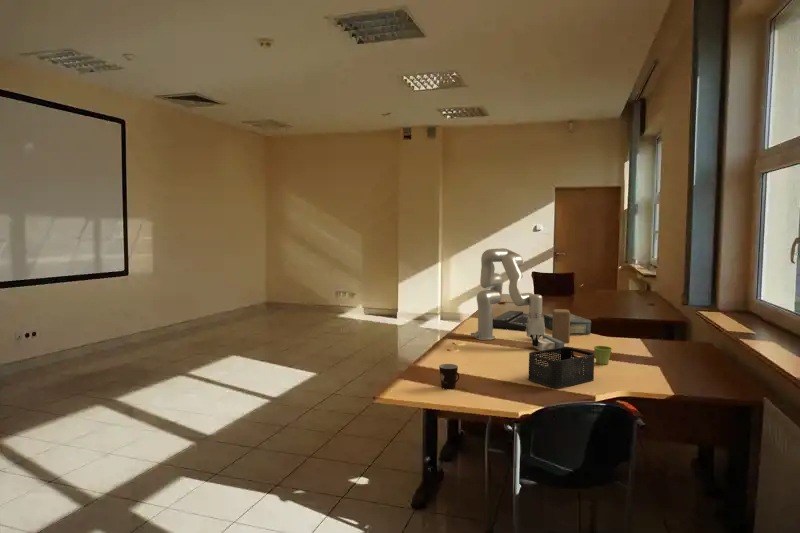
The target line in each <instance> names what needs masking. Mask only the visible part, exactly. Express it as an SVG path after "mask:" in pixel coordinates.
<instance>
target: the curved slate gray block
mask: <svg viewBox="0 0 800 533" xmlns="http://www.w3.org/2000/svg"><path fill="white" fill-rule="evenodd" d="M541 339H548V340H550V341H552V342H554V343H555V348H559V347H565V343H564V342H562V341H560V340H557V339H555V338H553V337H552V335H551V336H550V335H548V334H544V336H541ZM556 352H557V351H556Z"/></svg>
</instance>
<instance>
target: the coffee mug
mask: <svg viewBox="0 0 800 533" xmlns="http://www.w3.org/2000/svg"><path fill="white" fill-rule="evenodd" d="M438 367H439V376H440V377H439V378H440V386H441V389H443V388H444V390H447V389H451V390H454V388H456V385H457V382H458V381H459V380H460V375H459V374H460V373H458V368H459V366H458V365H457V364H453V363H442V364H439V366H438Z"/></svg>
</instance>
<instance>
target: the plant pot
mask: <svg viewBox="0 0 800 533" xmlns="http://www.w3.org/2000/svg"><path fill="white" fill-rule="evenodd" d="M593 349H594V356H595V362H596V364H598V365H602V366H604V365H608V364H609V362H610V356H611V352H612V350H613V347H612V346H611V347H610V346H606V345H595V346H593Z"/></svg>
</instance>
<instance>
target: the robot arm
mask: <svg viewBox="0 0 800 533" xmlns="http://www.w3.org/2000/svg"><path fill="white" fill-rule="evenodd" d="M480 259H481V260H480V261H481V267H480V268H481V269H480V278H479V279H480V282H479V285H480V287H481V288H483V289H484V290H481V291H479V292H478V293H477V294H476V303H477V330H476V331H475V332H470V336H471V337H475V339H476V340H479V341H480V340H481V341H493V340H495V339H496V336H494V335H493V329H494V328H493V318H494V315H493V314H494V310H493V308H492V306H491V305H495V304H496V305H497V304H499V303H500V302H501V300H502V297H503V285H504V284H503V283H504V281H503V277H502V276H501V274H500V273H497V272H495V270H496V269H495V268H496V267H495V264H494V263H501V264H502V266H503V268H504V271H505V273H506V275H507V278H508V280H509V283H508V294H509V296H510V299H511V301H512V303H513V304H514V305H515V306H516V307H527V306H528V313H526V314H527V316H529V317H528V320H527V327H526V331H525V332H526V337H528V338H529V337H530V338H531V339H532V340H531V341H532V344H531V345H532V346H533V347H534V346H538V340H539V339H541V338H542V336H544V335H546V333H545V332H546V328H545V324H544V317H543V296H542V295H541V294H537V293H536V294H535V293H531V292H523V293H521V292H520V289H519V287H518V286H519V281H520V280H522V278H523V277H524V276H523V273H522V271H521V269H520V268H521V267H522V266H523V265H524V264H523V263H524V259H523V257H522V256H521V254H520V253H517V252H514V251H512V250H510V249H507V248H503V247H502V248H501V247H499V248H489V249H486V250H485V251H483V252H482V254H481V258H480Z"/></svg>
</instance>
